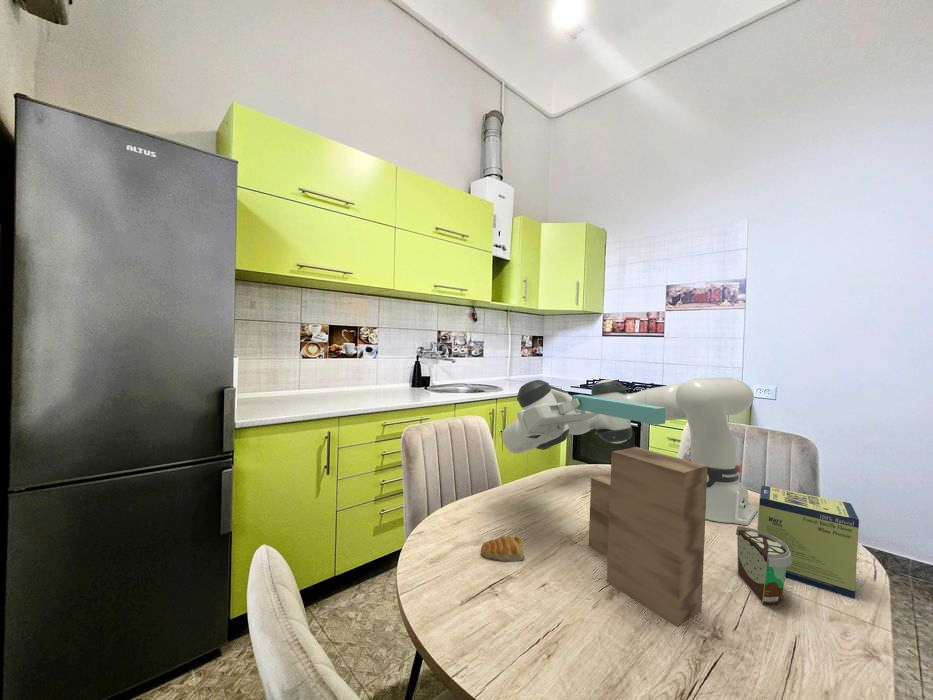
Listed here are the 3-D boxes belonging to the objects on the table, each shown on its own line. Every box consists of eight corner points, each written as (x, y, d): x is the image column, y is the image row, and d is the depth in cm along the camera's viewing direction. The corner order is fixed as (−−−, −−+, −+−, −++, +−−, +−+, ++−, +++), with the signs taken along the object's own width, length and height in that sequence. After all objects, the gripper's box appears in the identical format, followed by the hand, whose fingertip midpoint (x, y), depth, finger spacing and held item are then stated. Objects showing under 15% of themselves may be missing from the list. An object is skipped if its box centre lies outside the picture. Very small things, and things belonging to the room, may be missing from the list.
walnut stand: (615, 535, 95) (619, 431, 95) (727, 591, 74) (733, 458, 74) (564, 555, 85) (568, 439, 85) (677, 626, 64) (683, 472, 64)
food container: (806, 616, 68) (809, 560, 68) (767, 610, 69) (769, 555, 69) (767, 575, 80) (769, 528, 80) (734, 571, 81) (736, 524, 81)
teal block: (580, 407, 89) (581, 394, 89) (665, 423, 72) (665, 407, 72) (571, 408, 87) (572, 395, 87) (656, 424, 70) (656, 408, 70)
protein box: (857, 600, 73) (860, 519, 73) (755, 568, 83) (758, 496, 83) (848, 575, 81) (852, 502, 81) (756, 549, 91) (759, 484, 91)
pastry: (484, 564, 81) (484, 546, 81) (478, 548, 88) (478, 531, 88) (526, 562, 83) (527, 544, 83) (517, 546, 89) (518, 530, 89)
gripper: (579, 430, 100) (620, 411, 90) (519, 438, 89) (559, 418, 79) (570, 407, 103) (610, 386, 93) (511, 413, 92) (548, 389, 81)
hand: (586, 401), depth 86 cm, fingers closed on teal block, 3 cm apart
